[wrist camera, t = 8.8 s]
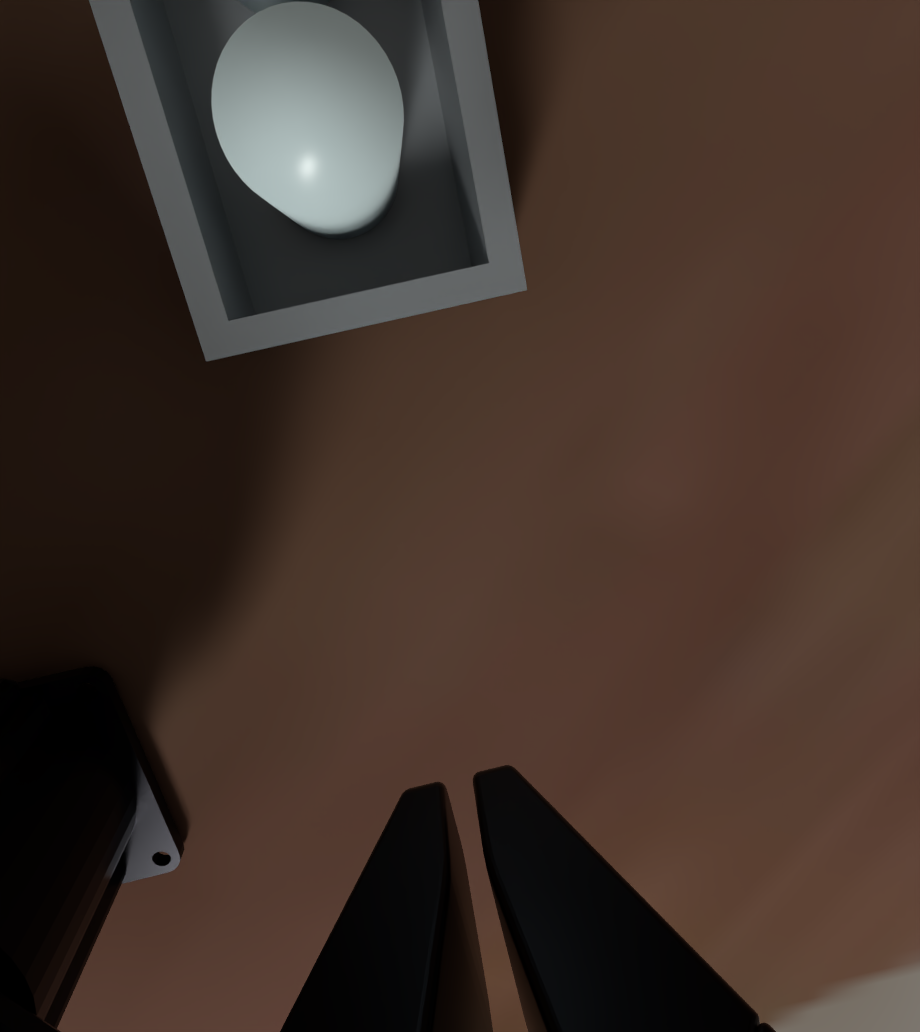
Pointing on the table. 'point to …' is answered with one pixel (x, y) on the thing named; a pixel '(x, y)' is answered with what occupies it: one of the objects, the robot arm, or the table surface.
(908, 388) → the table surface
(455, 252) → the tray
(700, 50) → the table surface
